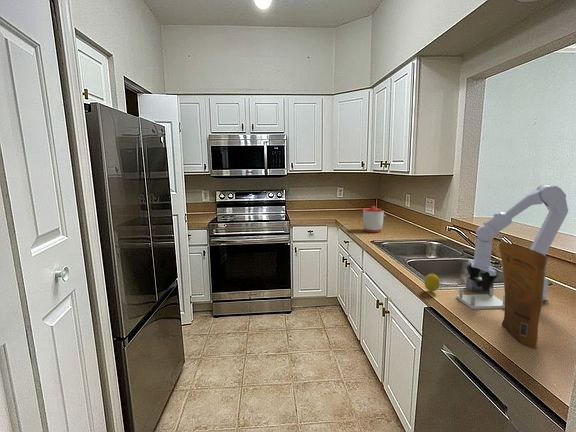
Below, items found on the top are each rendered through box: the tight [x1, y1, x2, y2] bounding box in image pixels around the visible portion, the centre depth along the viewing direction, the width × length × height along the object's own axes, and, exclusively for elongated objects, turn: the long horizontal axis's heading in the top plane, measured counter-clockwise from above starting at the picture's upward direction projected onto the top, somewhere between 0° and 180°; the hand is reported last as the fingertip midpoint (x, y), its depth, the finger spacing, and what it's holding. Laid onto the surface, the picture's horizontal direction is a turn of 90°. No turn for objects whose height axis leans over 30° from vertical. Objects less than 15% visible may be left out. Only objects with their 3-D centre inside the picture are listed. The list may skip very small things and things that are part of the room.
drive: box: [465, 276, 495, 293], centre depth 132 cm, size 9×4×5 cm, turn 94°
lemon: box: [424, 272, 441, 293], centre depth 130 cm, size 6×6×8 cm
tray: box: [456, 287, 505, 310], centre depth 120 cm, size 14×10×4 cm
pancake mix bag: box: [498, 240, 549, 350], centre depth 96 cm, size 7×19×28 cm, turn 173°
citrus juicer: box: [362, 205, 387, 233], centre depth 243 cm, size 16×17×20 cm
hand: (479, 286), depth 133 cm, fingers open, 7 cm apart
